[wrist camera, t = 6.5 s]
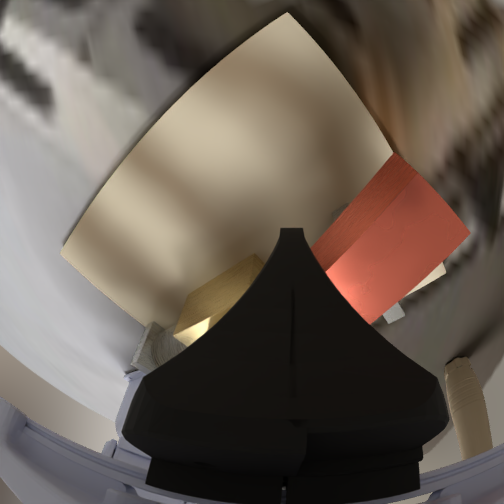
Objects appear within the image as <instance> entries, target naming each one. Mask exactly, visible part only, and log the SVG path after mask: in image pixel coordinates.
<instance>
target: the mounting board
mask: <svg viewBox="0 0 504 504" xmlns="http://www.w3.org/2000/svg"><path fill="white" fill-rule="evenodd" d="M392 154H393V151H392V149H391V148H390V146H389V144H388V143H387V141H386V139H385V137H384V136H383V134H382V132H381V131H380V129H379V128H378V126H377V124H376V123H375V121H374V120H373V118H372V116H371V115H370V113H369V112H368V110H367V109H366V107H365V106H364V104H363V103H362V101H361V100H360V99H359V97H358V96H357V94H356V93H355V91H354V90H353V89H352V87H351V86H350V84H349V83H348V82H347V80H346V79H345V78H344V76H343V75H342V74H341V72H340V71H339V70H338V69H337V67H336V66H335V65H334V64H333V62H332V61H331V60H330V59H329V57H328V56H327V55H326V54H325V52H324V51H323V50H322V49H321V48H320V47H319V45H318V44H317V43H316V42H315V41H314V40H313V39H312V37H311V36H310V35H309V34H308V33H307V32H306V31H305V30H304V29H303V28H302V26H301V25H300V24H299V23H298V22H297V21H296V20H295V19H294V18H293V17H292V16H291V15H290V14H289V13H288V12H287V13H285V14H284V15H282V16H280V17H279V18H277V19H276V20H274V21H273V22H272V23H270V24H269V25H267V26H266V27H264V28H263V29H262V30H260V31H259V32H257V33H256V34H255V35H253V36H252V37H251V38H249V39H248V40H247V41H245V42H244V43H243V44H241V45H240V46H239V47H237V48H236V49H235V50H234V51H232V52H231V53H230V54H229V55H227V56H226V57H225V58H224V59H223V60H221V61H220V62H219V63H218V64H217V65H216V66H214V67H213V68H212V69H211V70H210V71H209V72H207V73H206V74H205V75H204V76H203V77H202V78H201V79H200V80H199V81H197V82H196V83H195V84H194V85H193V86H192V87H191V88H190V89H189V90H188V91H187V92H186V93H185V94H184V95H183V96H182V97H181V98H180V99H179V100H178V101H177V102H176V103H175V104H174V105H173V106H172V107H171V108H170V109H169V110H168V111H167V112H166V113H165V114H164V115H163V116H162V117H161V118H160V119H159V120H158V121H157V122H156V123H155V124H154V126H153V127H152V128H151V129H150V130H149V131H148V132H147V133H146V134H145V136H144V137H143V138H142V139H141V140H140V141H139V142H138V144H137V145H136V146H135V147H134V148H133V149H132V151H131V152H130V153H129V154H128V156H127V157H126V158H125V159H124V160H123V162H122V163H121V164H120V165H119V167H118V168H117V169H116V171H115V172H114V173H113V174H112V176H111V177H110V178H109V180H108V181H107V182H106V184H105V185H104V186H103V188H102V189H101V190H100V192H99V193H98V195H97V196H96V197H95V199H94V200H93V202H92V203H91V205H90V206H89V207H88V209H87V210H86V212H85V213H84V215H83V216H82V218H81V219H80V221H79V223H78V224H77V226H76V227H75V229H74V230H73V232H72V234H71V235H70V237H69V238H68V240H67V242H66V243H65V245H64V247H63V249H62V250H61V252H60V254H61V255H62V256H63V257H64V258H65V259H66V260H67V261H68V262H69V263H70V264H71V265H72V266H73V267H74V268H75V269H76V270H78V271H79V272H80V273H81V274H82V275H83V276H84V277H85V278H86V279H87V280H89V281H90V282H91V283H92V284H93V285H94V286H95V287H96V288H98V289H99V290H100V291H101V292H102V293H103V294H105V295H106V296H107V297H108V298H109V299H111V300H112V301H113V302H114V303H115V304H117V305H118V306H119V307H120V308H122V309H123V310H124V311H125V312H127V313H128V314H129V315H130V316H132V317H133V318H134V319H135V320H137V321H138V322H139V323H141V324H142V325H143V326H145V327H147V325H148V324H149V323H151V322H153V321H154V322H156V323H157V324H158V325H160V326H161V327H162V328H164V329H165V330H167V329H169V328H170V327H172V326H174V325H176V324H177V323H178V320H179V317H180V314H181V312H182V309H183V306H184V304H185V301H186V298H187V296H188V294H189V293H191V292H192V291H194V290H196V289H197V288H199V287H200V286H202V285H204V284H205V283H207V282H208V281H210V280H212V279H213V278H215V277H216V276H218V275H220V274H221V273H223V272H224V271H226V270H228V269H229V268H231V267H233V266H234V265H236V264H237V263H239V262H241V261H242V260H244V259H245V258H247V257H248V256H250V255H252V254H253V253H255V254H256V255H257V256H258V257H259V258H260V259H261V260H262V261H263V262H264V263H266V262H267V260H268V258H269V257H270V255H271V253H272V251H273V249H274V247H275V245H276V243H277V241H278V239H279V236H280V228H303V231H304V237H305V239H306V241H307V243H308V245H309V247H310V248H311V247H312V246H313V245H314V244H315V243H316V241H317V240H318V239H319V238H320V237H321V236H322V235H323V234H324V233H325V231H326V230H327V229H328V228H329V227H330V226H331V225H332V224H333V223H334V219H333V215H332V212H333V211H335V210H336V209H338V208H340V207H341V206H343V205H344V204H346V203H348V204H350V203H351V202H352V201H353V200H354V199H355V197H356V196H357V195H358V194H359V193H360V192H361V191H362V189H363V188H364V187H365V186H366V185H367V184H368V182H369V181H370V180H371V179H372V178H373V176H374V175H375V174H376V173H377V172H378V171H379V169H380V168H381V167H382V166H383V165H384V163H385V162H386V161H387V160H388V159H389V157H390V156H391V155H392ZM445 273H446V271H445V268H444V265H443V262H442V263H441V264H440V265H439V266H438V267H437V268H435V269H434V270H433V271H432V272H431V273H430V274H429V275H428V276H427V277H426V278H425V279H424V280H422V281H421V282H420V283H419V284H418V285H417V286H416V287H415V288H413V289H412V290H411V291H410V292H409V293H408V294H410V293H412V292H414V291H416V290H417V289H419V288H421V287H423V286H425V285H426V284H428V283H430V282H432V281H433V280H435V279H437V278H438V277H440V276H442V275H443V274H445ZM408 294H407V295H408ZM405 296H406V295H405ZM405 296H404V297H405Z"/></svg>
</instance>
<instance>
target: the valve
mask: <svg viewBox="0 0 504 504" xmlns="http://www.w3.org/2000/svg"><path fill="white" fill-rule="evenodd" d="M348 206H349V204H348V203H346V204H344V205H343V206H341V207H340V208H338V209H336V210H335V211H333V212H332V215H333V219H334V221H335V220H336V219H337V218H338V217H339V216H340V215H341V213H342V212H343V211H344V210H345V209H346V208H347V207H348ZM264 265H265V263H264V262H263V261H262V260H261V259H260V258H259V257H258V256H257V255H256V254H255V253H253V254H252V255H250V256H248V257H247V258H245V259H244V260H242V261H241V262H239V263H237V264H236V265H234V266H233V267H231V268H229V269H228V270H226V271H224V272H223V273H221V274H220V275H218V276H216V277H215V278H213V279H212V280H210V281H208V282H207V283H205V284H204V285H202V286H200V287H199V288H197V289H196V290H194V291H192V292H191V293H189V294H188V296H187V298H186V301H185V304H184V306H183V309H182V312H181V314H180V317H179V320H178V323H177V324H176V325H174V326H172V327H170V328H169V329H167V330H165V329H164V328H162V327H161V326H160V325H158V324H157V323H156V322H154V321H153V322H151V323H149V324H148V325H147V327H146V329H145V331H144V334H143V336H142V338H141V341H140V343H139V345H138V348H137V350H136V352H135V355H134V357H133V360H132V362H131V365H132V366H134V367H135V368H137V369H138V370H140V371H141V372H143V373H145V374H146V375H147V374H149V373H150V372H152V371H153V370H155V369H156V368H158V367H160V366H161V365H163V364H164V363H166V362H167V361H169V360H170V359H172V358H173V357H175V356H176V355H178V354H179V353H180V352H182V351H183V350H184V349H186V348H187V347H188V346H189V345H191V344H192V343H193V342H194V341H196V340H197V339H198V338H199V337H201V336H202V335H203V334H204V333H205V332H207V331H208V330H209V329H210V328H211V327H212V326H213V325H215V324H216V323H217V322H218V321H219V320H220V319H221V318H222V317H223V316H224V315H225V314H226V313H227V312H228V311H229V310H230V309H231V308H232V307H233V306H234V304H235V303H236V302H237V301H238V300H239V299H240V298H241V296H242V295H243V294H244V293H245V292H246V290H247V289H248V288H249V287H250V285H251V284H252V283H253V281H254V280H255V278H256V277H257V275H258V274H259V273H260V271H261V270H262V268H263V267H264ZM383 316H384V317H385V319H386V320H387V322H388V324H389V323H391V322H393V321H395V320H397V319H399V318H401V317H403V316H405V313H404V310H403V307H402V304H401V302H400V300H399V301H398V302H397V303H396V304H395V305H393V306H392V307H391V308H390V309H389V310H387V311H386V312H385V313H384V314H383Z"/></svg>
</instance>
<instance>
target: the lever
mask: <svg viewBox="0 0 504 504" xmlns="http://www.w3.org/2000/svg"><path fill="white" fill-rule="evenodd" d="M469 234H470V231H469V230H468V229H467V228H466V226H465V225H464V224H463V222H462V221H461V220H460V219H459V218H458V216H457V215H456V214H455V213H454V212H453V210H452V209H451V208H450V207H449V206H448V205H447V203H446V202H445V201H444V200H443V199H442V198H441V197H440V195H439V194H438V193H437V192H436V191H435V190H434V189H433V188H432V187H431V186H430V185H429V184H428V183H427V181H426V180H425V179H424V178H423V177H422V176H421V175H420V174H419V173H418V172H417V171H416V170H414V169H413V168H412V167H411V166H410V165H409V164H408V163H407V162H406V161H405V160H403V159H402V158H401V157H400V156H399V155H398V154H396V153H395V152H394V153H393V154H392V155H391V156H390V157H389V159H388V160H387V161H386V162H385V163H384V165H383V166H382V167H381V168H380V169H379V171H378V172H377V173H376V174H375V175H374V176H373V178H372V179H371V180H370V181H369V182H368V184H367V185H366V186H365V187H364V188H363V189H362V191H361V192H360V193H359V194H358V195H357V196H356V197H355V199H354V200H353V201H352V202H351V203H350V204H349V206H348V207H347V208H346V209H345V210H344V211H343V212H342V213H341V215H340V216H339V217H338V218H337V219H336V220H335V221H334V223H333V224H332V225H331V226H330V227H329V228H328V229H327V230H326V231H325V233H324V234H323V235H322V236H321V237H320V238H319V239H318V240H317V241H316V243H315V244H314V245H313V246H312V247H311V248H310V249H311V251H312V252H313V254H314V256H315V257H316V259H317V260H318V262H319V264H320V265H321V267H322V268H323V270H324V271H325V273H326V274H327V276H328V277H329V278H330V280H331V281H332V282H333V284H334V285H335V286H336V288H337V289H338V290H339V291H340V293H341V294H342V295H343V296H344V298H345V299H346V300H347V301H348V302H349V303H350V304H351V306H352V307H353V308H354V309H355V310H356V311H357V312H358V313H359V314H360V315H361V316H362V317H363V318H364V319H365V320H366V321H367V322H368V323H369V324H371V323H372V322H373V321H375V320H376V319H377V318H379V317H380V316H381V315H382V314H384V313H385V312H386V311H387V310H389V309H390V308H391V307H392V306H393V305H395V304H396V303H397V302H398V301H399V300H401V299H402V298H403V297H404V296H405V295H407V294H408V293H409V292H410V291H411V290H412V289H413V288H415V287H416V286H417V285H418V284H419V283H420V282H421V281H422V280H424V279H425V278H426V277H427V276H428V275H429V274H430V273H431V272H432V271H433V270H434V269H435V268H437V267H438V266H439V265H440V264H441V263H442V262H443V261H444V260H445V259H446V258H447V257H448V256H449V255H450V254H451V253H452V252H453V251H454V250H455V249H456V248H457V247H458V246H459V245H460V244H461V243H462V242H463V241H464V240H465V239H466V237H467V236H468V235H469Z"/></svg>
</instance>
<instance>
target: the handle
mask: <svg viewBox="0 0 504 504" xmlns="http://www.w3.org/2000/svg"><path fill="white" fill-rule="evenodd" d="M470 365H471V363H470V361H469V360H468V358H467V357H463V358H459V357H458V358H455V359H454V360H453V361H452V362H451V363H449V364H447V365H446V366H445V370H444V376H445V380H446V389H447V396H448V402H449V407H450V412H451V415H452V420H453V423H454V427H455V430H456V434H457V438H458V442H459V447H460V451H461V456H462V461H463V460H466V459H468V458H471V457H473V456H476V455H478V454H481V453H483V452H485V451H488V450H490V449H492V448H493V446H492V439H491V432H490V426H489V420H488V414H487V409H486V404H485V400H484V396H483V392H482V389H481V386H480V384H479V381H478V379H477V377H476V374H475V373H474V371H473V369H472V368H470Z"/></svg>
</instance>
